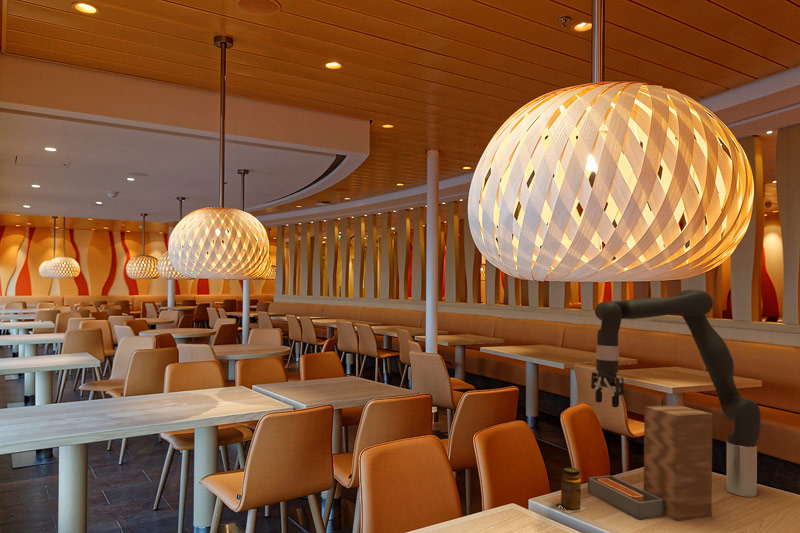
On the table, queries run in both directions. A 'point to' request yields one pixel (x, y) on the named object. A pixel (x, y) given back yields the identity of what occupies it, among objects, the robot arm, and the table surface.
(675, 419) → the walnut stand
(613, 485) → the narrow crate
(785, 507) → the table surface
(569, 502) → the condiment
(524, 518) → the table surface
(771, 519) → the table surface
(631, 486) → the charcoal crate
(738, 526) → the table surface
